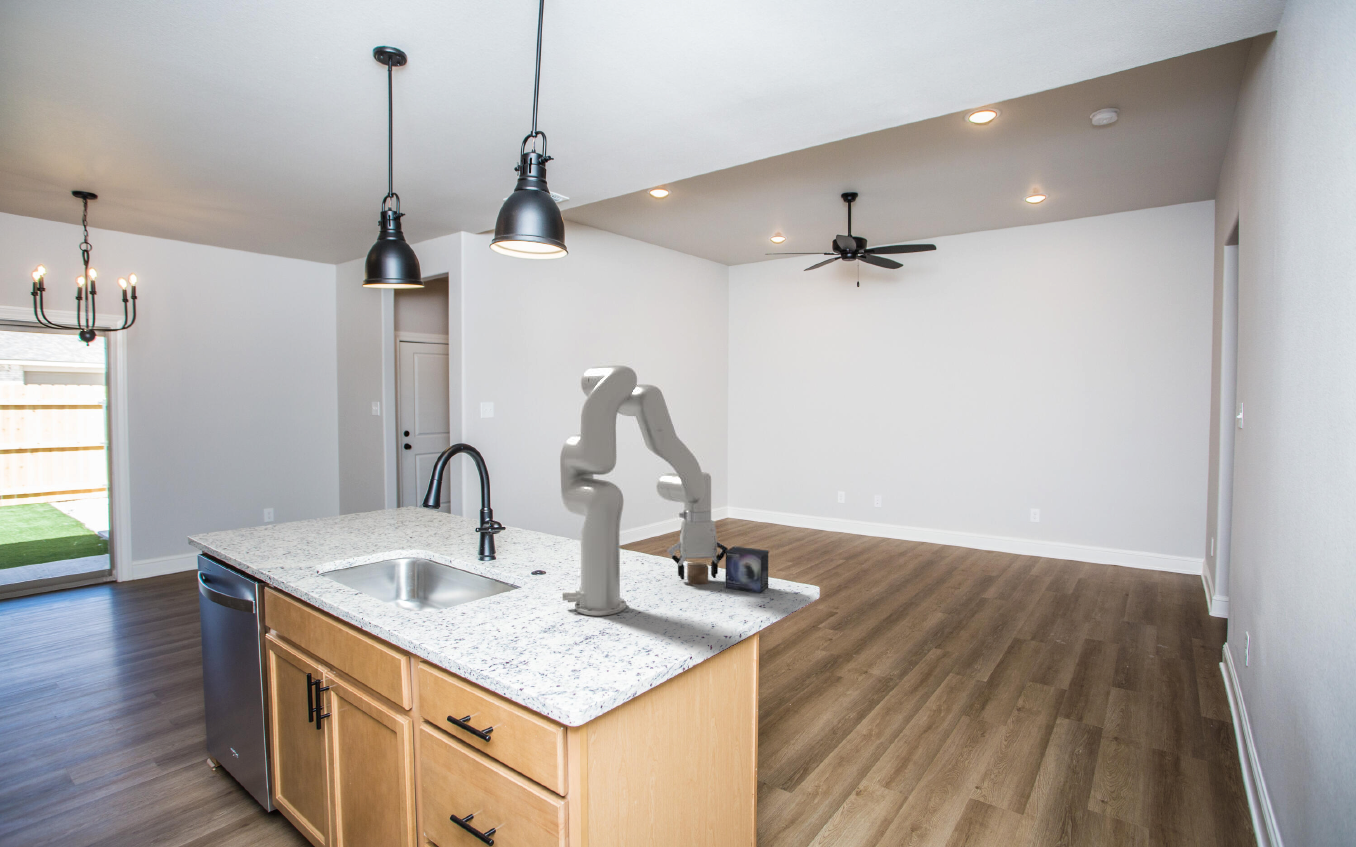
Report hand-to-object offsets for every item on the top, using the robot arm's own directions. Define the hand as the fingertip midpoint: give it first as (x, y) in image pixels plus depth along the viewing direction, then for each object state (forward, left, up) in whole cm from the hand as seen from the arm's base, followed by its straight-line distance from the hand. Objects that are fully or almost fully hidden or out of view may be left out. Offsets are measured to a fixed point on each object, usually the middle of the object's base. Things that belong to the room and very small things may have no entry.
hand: (697, 577), depth 184 cm
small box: (+12, -8, -2) cm, 14 cm away
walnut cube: (0, 0, -1) cm, 1 cm away
